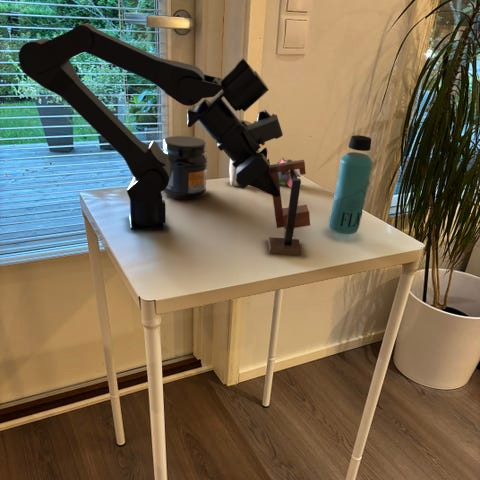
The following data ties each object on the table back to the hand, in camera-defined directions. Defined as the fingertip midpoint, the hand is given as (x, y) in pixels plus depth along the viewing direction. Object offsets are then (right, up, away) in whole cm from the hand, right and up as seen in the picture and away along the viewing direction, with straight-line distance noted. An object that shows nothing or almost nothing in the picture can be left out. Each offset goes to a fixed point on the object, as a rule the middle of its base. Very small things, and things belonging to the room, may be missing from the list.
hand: (277, 191), depth 100 cm
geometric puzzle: (+4, +9, +31) cm, 33 cm away
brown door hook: (+3, -6, +4) cm, 8 cm away
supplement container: (-21, +5, +20) cm, 29 cm away
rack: (+2, -8, +4) cm, 9 cm away
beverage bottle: (+14, -7, +7) cm, 17 cm away
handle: (-8, +9, +28) cm, 31 cm away
